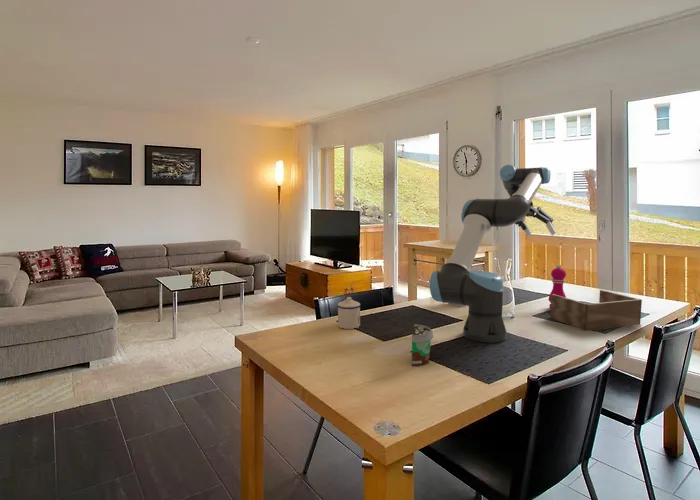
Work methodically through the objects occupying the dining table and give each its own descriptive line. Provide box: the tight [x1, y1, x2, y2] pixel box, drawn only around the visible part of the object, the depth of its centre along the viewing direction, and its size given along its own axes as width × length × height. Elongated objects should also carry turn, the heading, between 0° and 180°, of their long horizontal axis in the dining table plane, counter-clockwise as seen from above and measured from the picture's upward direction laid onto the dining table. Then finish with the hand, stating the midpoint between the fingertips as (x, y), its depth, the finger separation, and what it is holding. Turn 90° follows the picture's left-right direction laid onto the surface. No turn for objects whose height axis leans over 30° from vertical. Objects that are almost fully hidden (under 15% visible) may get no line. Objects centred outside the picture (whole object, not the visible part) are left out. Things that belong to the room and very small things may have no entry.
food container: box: [411, 323, 434, 367], centre depth 137 cm, size 12×6×10 cm, turn 168°
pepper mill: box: [548, 264, 567, 310], centre depth 197 cm, size 7×7×20 cm
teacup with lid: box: [337, 296, 362, 330], centre depth 175 cm, size 12×9×12 cm
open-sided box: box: [549, 289, 643, 332], centre depth 178 cm, size 19×26×10 cm
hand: (542, 234), depth 205 cm, fingers open, 13 cm apart
